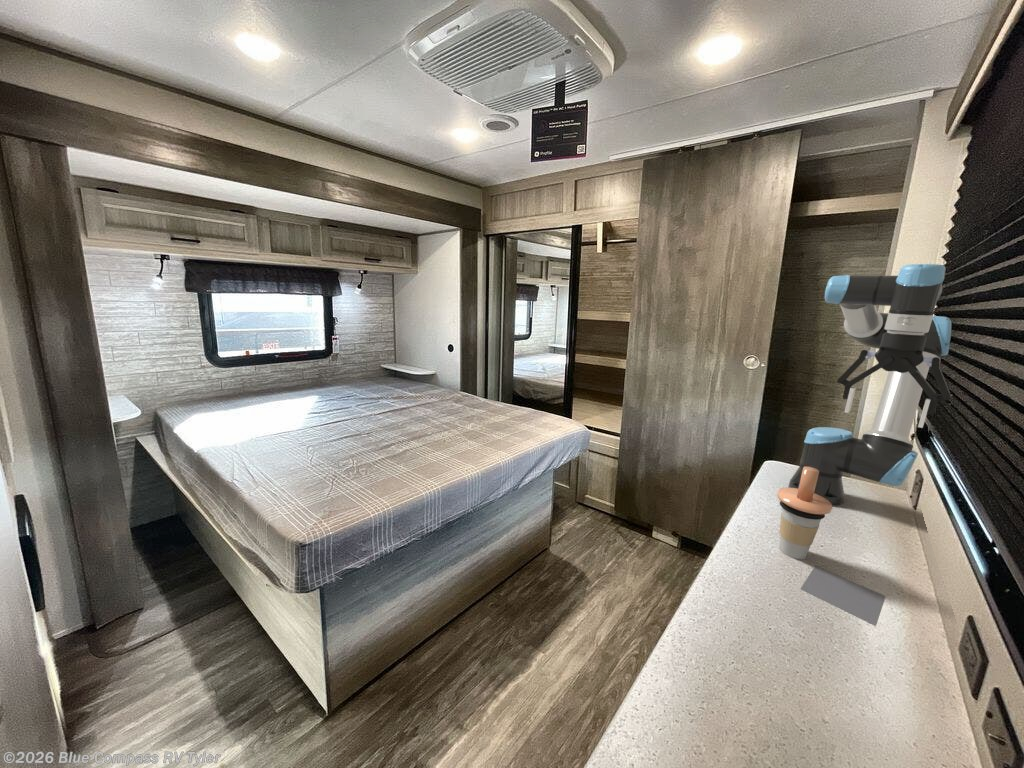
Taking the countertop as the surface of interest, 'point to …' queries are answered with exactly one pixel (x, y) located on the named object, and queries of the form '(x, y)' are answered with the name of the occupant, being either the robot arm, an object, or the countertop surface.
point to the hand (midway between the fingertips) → (882, 418)
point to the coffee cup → (797, 531)
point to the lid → (805, 494)
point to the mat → (844, 594)
